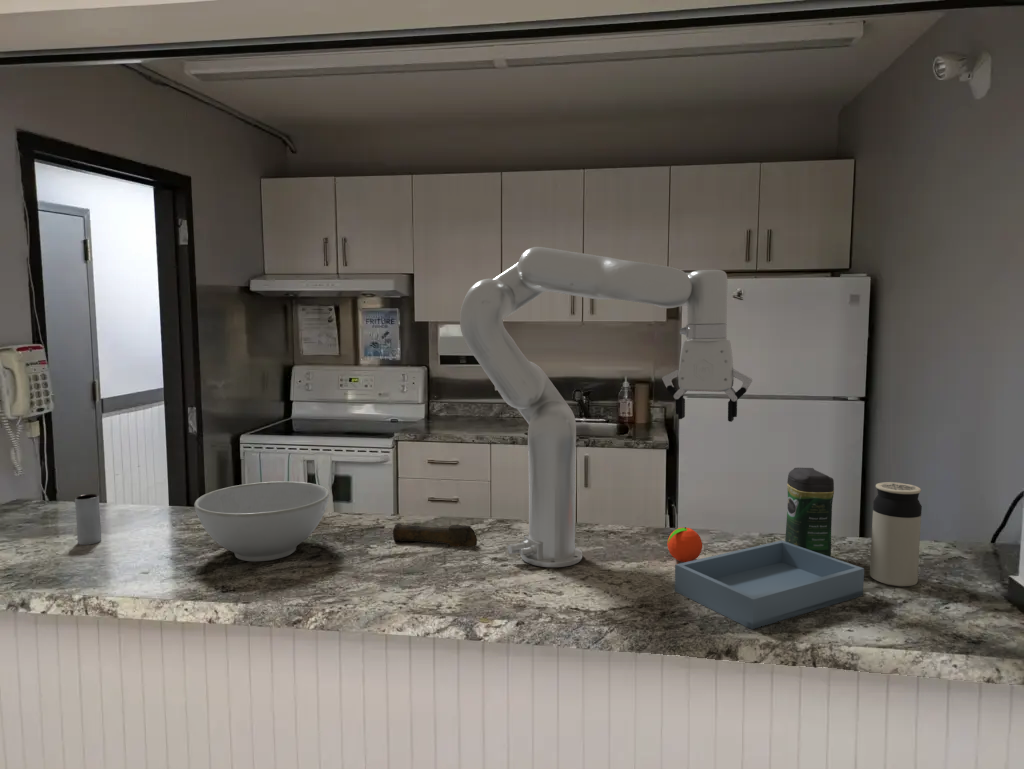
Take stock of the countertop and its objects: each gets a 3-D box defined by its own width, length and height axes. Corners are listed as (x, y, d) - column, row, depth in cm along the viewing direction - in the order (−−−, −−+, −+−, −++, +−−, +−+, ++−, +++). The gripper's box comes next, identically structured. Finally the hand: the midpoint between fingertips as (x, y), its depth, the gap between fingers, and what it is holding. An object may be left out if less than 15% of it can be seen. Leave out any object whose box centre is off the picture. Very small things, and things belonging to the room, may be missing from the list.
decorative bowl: (326, 527, 167) (325, 477, 166) (335, 565, 142) (333, 506, 140) (203, 539, 158) (201, 486, 157) (189, 581, 133) (186, 519, 132)
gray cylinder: (105, 540, 157) (102, 495, 156) (84, 546, 154) (81, 500, 152) (94, 537, 160) (92, 492, 159) (73, 542, 156) (70, 497, 155)
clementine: (679, 570, 139) (680, 535, 138) (655, 560, 145) (656, 526, 144) (709, 563, 143) (710, 529, 142) (684, 553, 149) (685, 520, 148)
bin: (752, 629, 113) (753, 599, 112) (674, 591, 128) (675, 564, 128) (862, 595, 126) (864, 568, 126) (780, 564, 142) (781, 540, 141)
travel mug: (922, 589, 129) (927, 493, 127) (874, 585, 131) (878, 490, 129) (911, 574, 136) (916, 483, 135) (866, 570, 139) (870, 480, 137)
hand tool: (391, 543, 156) (391, 523, 155) (399, 538, 160) (398, 518, 159) (472, 551, 151) (472, 530, 150) (478, 545, 155) (478, 525, 154)
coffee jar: (836, 566, 141) (841, 475, 139) (797, 566, 141) (800, 475, 139) (816, 550, 150) (820, 464, 149) (779, 550, 151) (782, 464, 149)
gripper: (658, 334, 139) (658, 420, 141) (750, 333, 132) (749, 424, 133) (667, 333, 146) (666, 415, 147) (755, 332, 138) (753, 419, 140)
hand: (705, 419), depth 140 cm, fingers open, 9 cm apart
